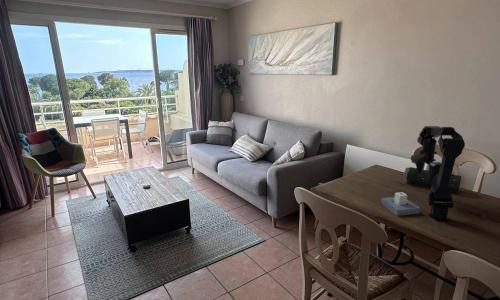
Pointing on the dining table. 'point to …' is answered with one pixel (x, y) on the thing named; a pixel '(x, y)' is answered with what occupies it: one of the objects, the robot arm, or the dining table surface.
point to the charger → (400, 199)
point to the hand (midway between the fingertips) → (424, 176)
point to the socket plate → (400, 207)
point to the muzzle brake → (424, 178)
